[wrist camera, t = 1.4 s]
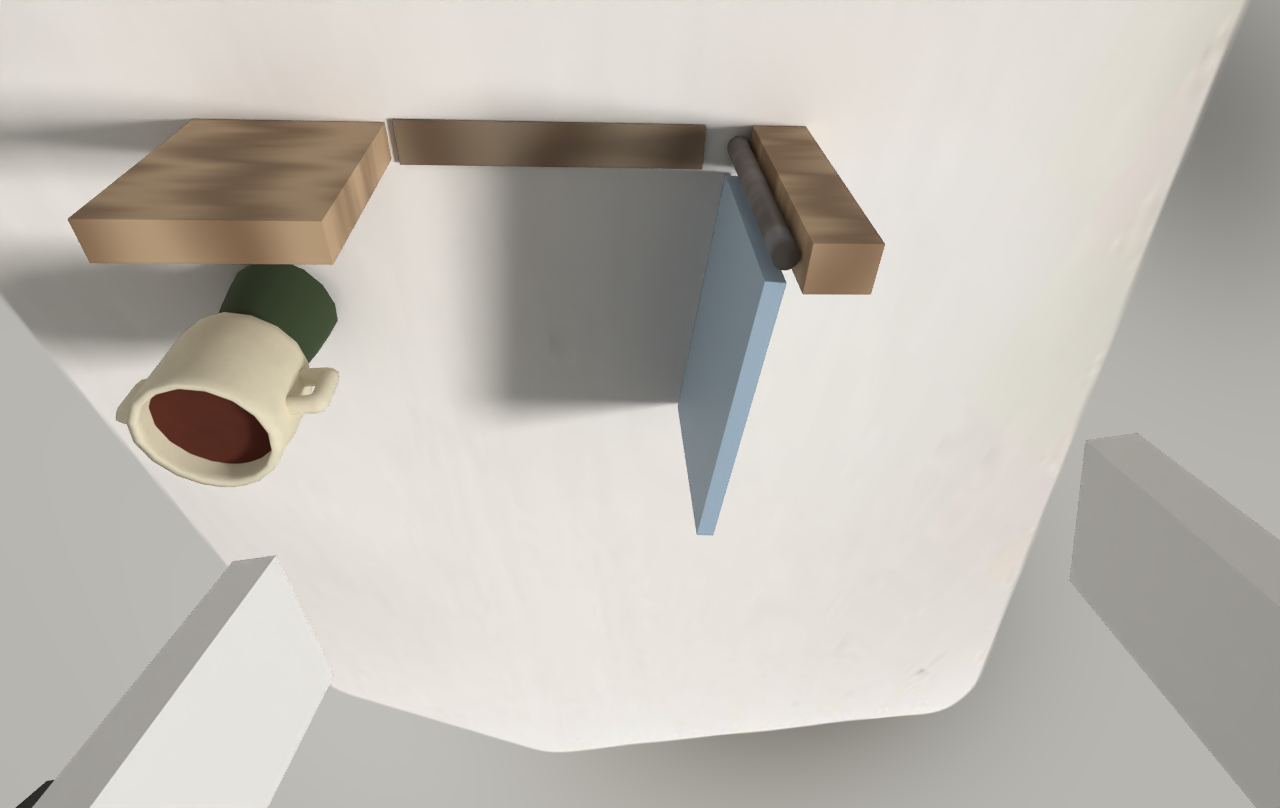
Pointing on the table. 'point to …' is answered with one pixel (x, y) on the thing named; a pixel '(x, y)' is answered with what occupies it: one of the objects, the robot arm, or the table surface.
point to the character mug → (237, 380)
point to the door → (726, 350)
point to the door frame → (359, 154)
